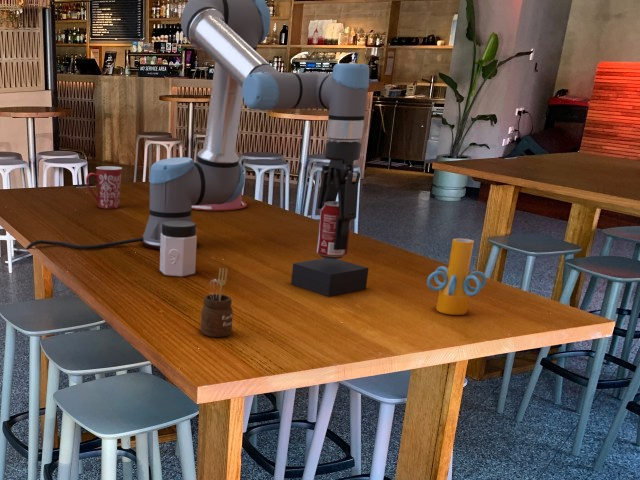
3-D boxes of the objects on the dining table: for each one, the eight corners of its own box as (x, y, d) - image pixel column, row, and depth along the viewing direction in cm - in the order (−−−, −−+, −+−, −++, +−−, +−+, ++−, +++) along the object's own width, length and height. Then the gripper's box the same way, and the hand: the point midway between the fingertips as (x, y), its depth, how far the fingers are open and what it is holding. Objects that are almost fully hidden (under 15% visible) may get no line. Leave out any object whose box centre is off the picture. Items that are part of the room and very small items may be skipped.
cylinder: (472, 323, 158) (485, 249, 153) (418, 314, 164) (430, 242, 158) (483, 308, 168) (496, 238, 162) (432, 300, 173) (443, 232, 167)
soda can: (347, 260, 177) (353, 206, 172) (316, 258, 178) (321, 205, 174) (345, 253, 183) (351, 201, 178) (316, 252, 184) (321, 200, 180)
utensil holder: (196, 335, 150) (199, 274, 145) (205, 326, 155) (208, 266, 151) (227, 339, 148) (230, 277, 143) (235, 329, 153) (238, 269, 149)
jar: (155, 274, 192) (156, 225, 187) (164, 267, 199) (165, 219, 194) (191, 278, 189) (193, 227, 185) (198, 270, 197) (200, 221, 192)
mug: (118, 204, 283) (118, 165, 278) (124, 208, 275) (124, 169, 270) (84, 205, 281) (83, 166, 276) (88, 210, 273) (88, 169, 267)
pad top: (329, 285, 175) (330, 274, 174) (291, 273, 184) (292, 263, 183) (367, 278, 181) (368, 267, 180) (329, 267, 190) (330, 257, 189)
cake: (218, 197, 300) (219, 168, 296) (261, 207, 280) (263, 176, 276) (163, 202, 288) (164, 172, 284) (204, 213, 268) (206, 181, 264)
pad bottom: (328, 296, 176) (329, 285, 175) (291, 284, 185) (291, 273, 184) (366, 289, 182) (367, 278, 181) (327, 277, 191) (329, 267, 190)
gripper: (382, 144, 163) (368, 254, 171) (339, 135, 180) (328, 236, 189) (349, 145, 161) (336, 256, 170) (308, 136, 179) (299, 237, 188)
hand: (332, 245), depth 180 cm, fingers closed on soda can, 7 cm apart
